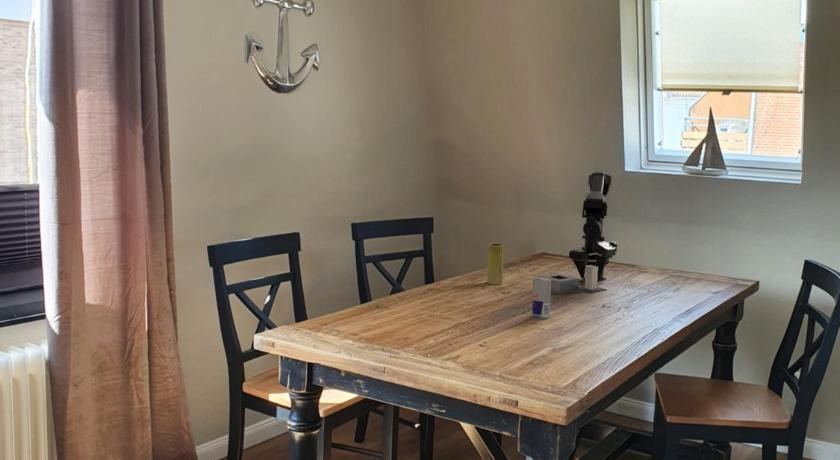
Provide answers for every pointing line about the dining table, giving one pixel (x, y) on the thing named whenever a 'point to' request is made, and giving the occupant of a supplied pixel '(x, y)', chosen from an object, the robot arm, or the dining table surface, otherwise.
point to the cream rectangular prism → (591, 277)
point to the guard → (563, 283)
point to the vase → (495, 264)
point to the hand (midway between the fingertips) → (591, 276)
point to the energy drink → (541, 297)
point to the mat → (592, 290)
